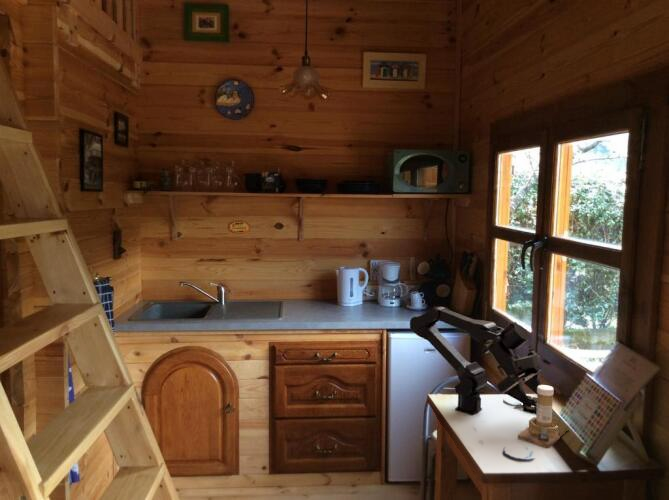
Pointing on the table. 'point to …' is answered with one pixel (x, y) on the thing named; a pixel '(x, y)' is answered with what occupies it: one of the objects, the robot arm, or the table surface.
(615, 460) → the table surface
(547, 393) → the sprinkles bottle
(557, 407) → the table surface
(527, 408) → the black angular block
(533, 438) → the stand
